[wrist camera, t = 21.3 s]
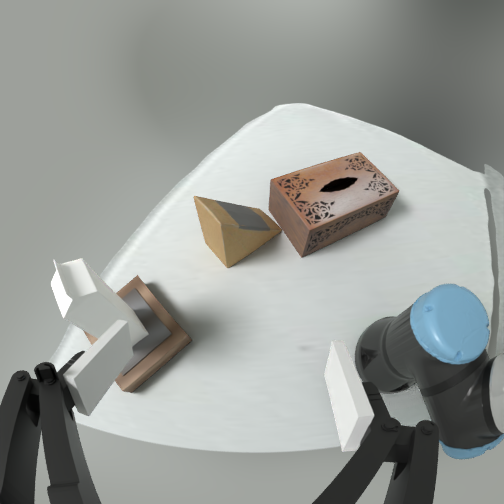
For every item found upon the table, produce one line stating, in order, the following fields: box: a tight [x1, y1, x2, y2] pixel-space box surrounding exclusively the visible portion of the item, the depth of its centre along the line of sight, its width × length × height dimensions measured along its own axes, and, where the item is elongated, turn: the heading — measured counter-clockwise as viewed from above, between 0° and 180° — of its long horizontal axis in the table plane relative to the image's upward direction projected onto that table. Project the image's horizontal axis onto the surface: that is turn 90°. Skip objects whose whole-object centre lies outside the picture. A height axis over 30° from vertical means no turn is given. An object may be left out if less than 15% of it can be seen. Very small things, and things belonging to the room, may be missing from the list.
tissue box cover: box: [269, 152, 399, 258], centre depth 60 cm, size 26×14×10 cm, turn 117°
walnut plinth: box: [83, 275, 192, 393], centre depth 47 cm, size 16×16×4 cm
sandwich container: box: [194, 196, 282, 268], centre depth 54 cm, size 9×15×15 cm, turn 129°
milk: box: [51, 258, 149, 346], centre depth 35 cm, size 6×6×22 cm
